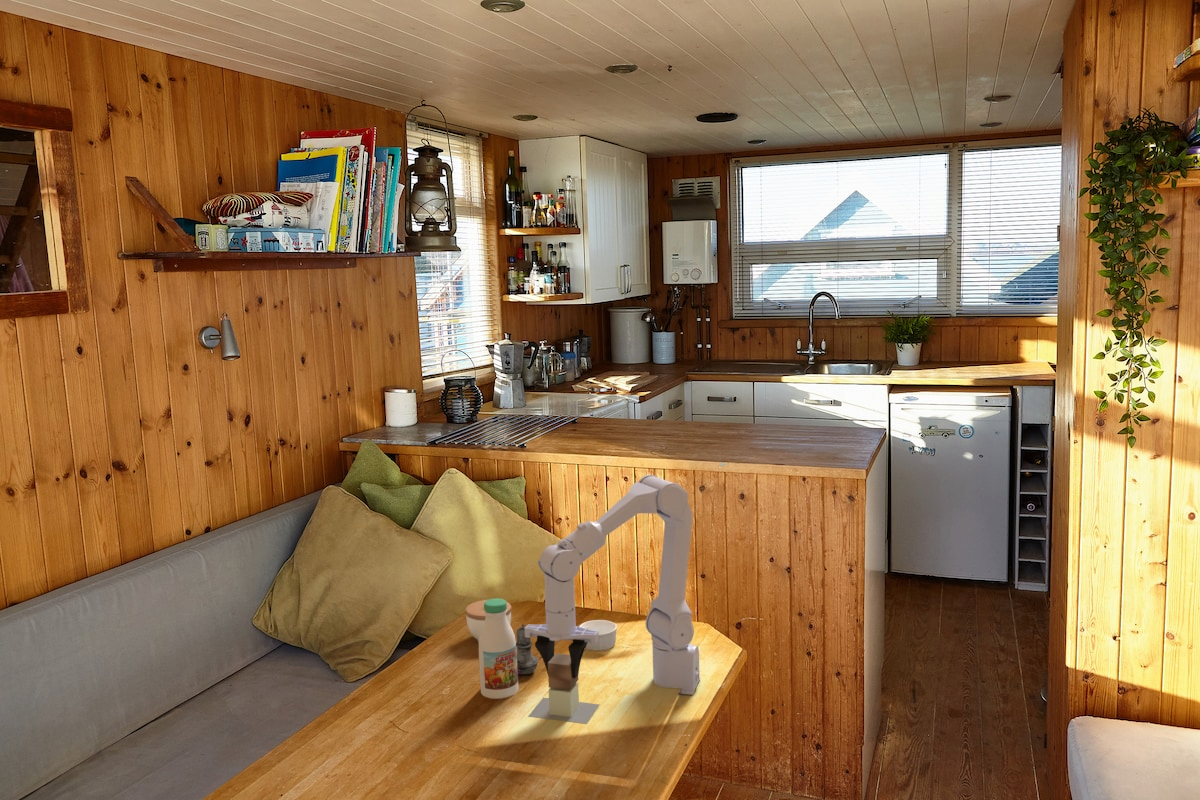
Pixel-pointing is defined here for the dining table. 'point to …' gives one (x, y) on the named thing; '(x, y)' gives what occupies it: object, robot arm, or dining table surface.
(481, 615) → the lidded jar
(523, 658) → the grey chess piece
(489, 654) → the milk bottle
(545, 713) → the plate
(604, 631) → the ramekin
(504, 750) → the dining table surface
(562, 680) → the walnut block
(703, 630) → the dining table surface
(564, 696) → the sage block
